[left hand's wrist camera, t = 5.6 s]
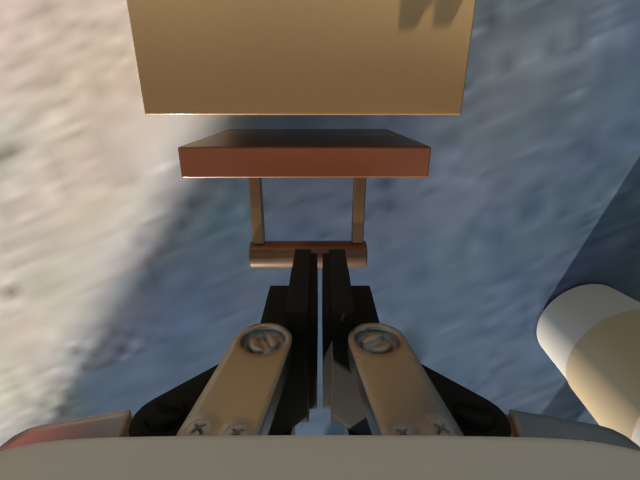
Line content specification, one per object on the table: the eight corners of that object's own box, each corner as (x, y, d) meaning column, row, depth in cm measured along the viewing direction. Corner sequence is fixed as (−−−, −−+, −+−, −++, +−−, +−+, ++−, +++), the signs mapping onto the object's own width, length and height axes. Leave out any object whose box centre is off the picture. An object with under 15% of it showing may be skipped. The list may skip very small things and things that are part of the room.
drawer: (380, 238, 25) (414, 308, 16) (237, 239, 25) (199, 310, 16) (413, -269, 16) (520, -661, 8) (193, -273, 16) (63, -678, 8)
